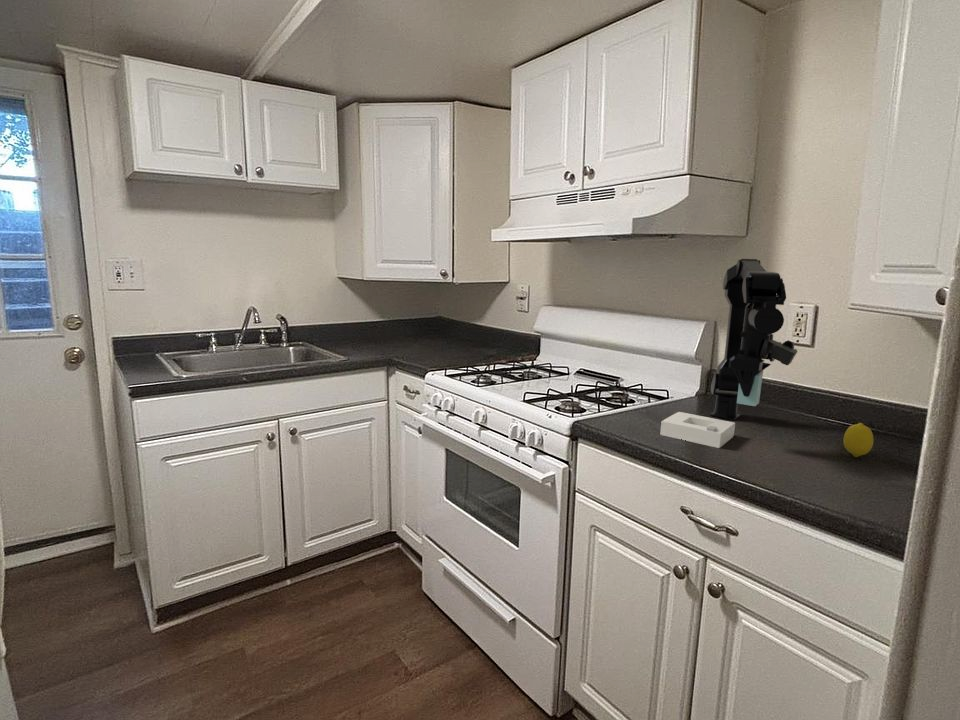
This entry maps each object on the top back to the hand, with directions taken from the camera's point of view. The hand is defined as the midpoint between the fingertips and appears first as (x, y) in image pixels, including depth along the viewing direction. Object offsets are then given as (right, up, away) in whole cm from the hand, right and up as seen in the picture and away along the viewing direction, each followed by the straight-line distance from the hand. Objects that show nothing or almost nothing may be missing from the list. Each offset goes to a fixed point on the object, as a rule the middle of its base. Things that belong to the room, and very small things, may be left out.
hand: (748, 394), depth 129 cm
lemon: (+22, -14, -4) cm, 27 cm away
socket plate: (-9, -11, +8) cm, 16 cm away
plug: (0, -2, 0) cm, 2 cm away
